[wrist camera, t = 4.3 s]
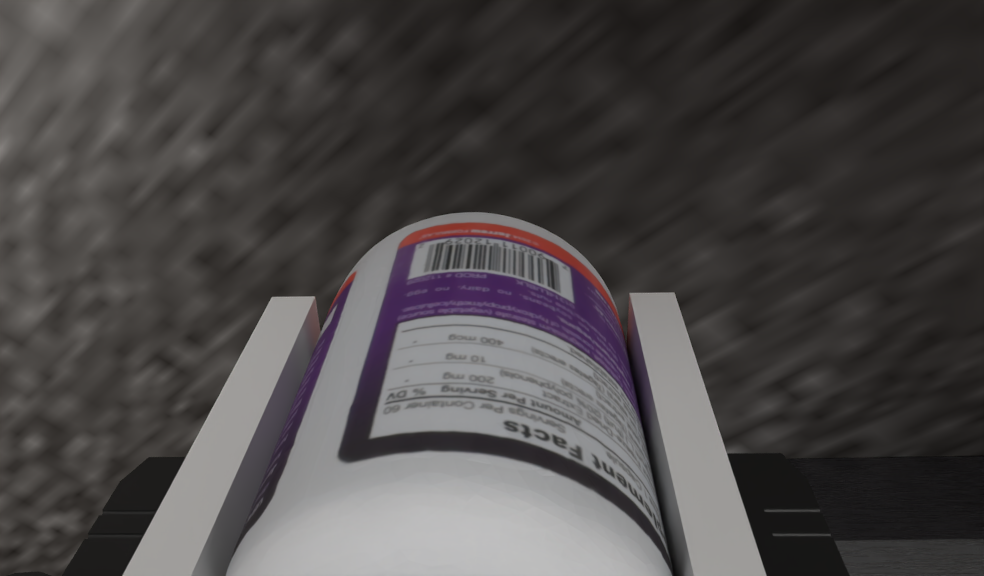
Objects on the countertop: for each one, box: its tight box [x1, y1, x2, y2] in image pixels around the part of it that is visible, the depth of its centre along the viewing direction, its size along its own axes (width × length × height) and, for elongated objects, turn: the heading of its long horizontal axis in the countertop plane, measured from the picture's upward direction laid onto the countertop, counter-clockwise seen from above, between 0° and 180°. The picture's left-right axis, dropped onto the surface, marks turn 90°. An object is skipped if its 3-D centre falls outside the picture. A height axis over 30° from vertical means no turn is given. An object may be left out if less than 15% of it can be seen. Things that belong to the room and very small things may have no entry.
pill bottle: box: [226, 212, 674, 576], centre depth 11 cm, size 5×5×10 cm
